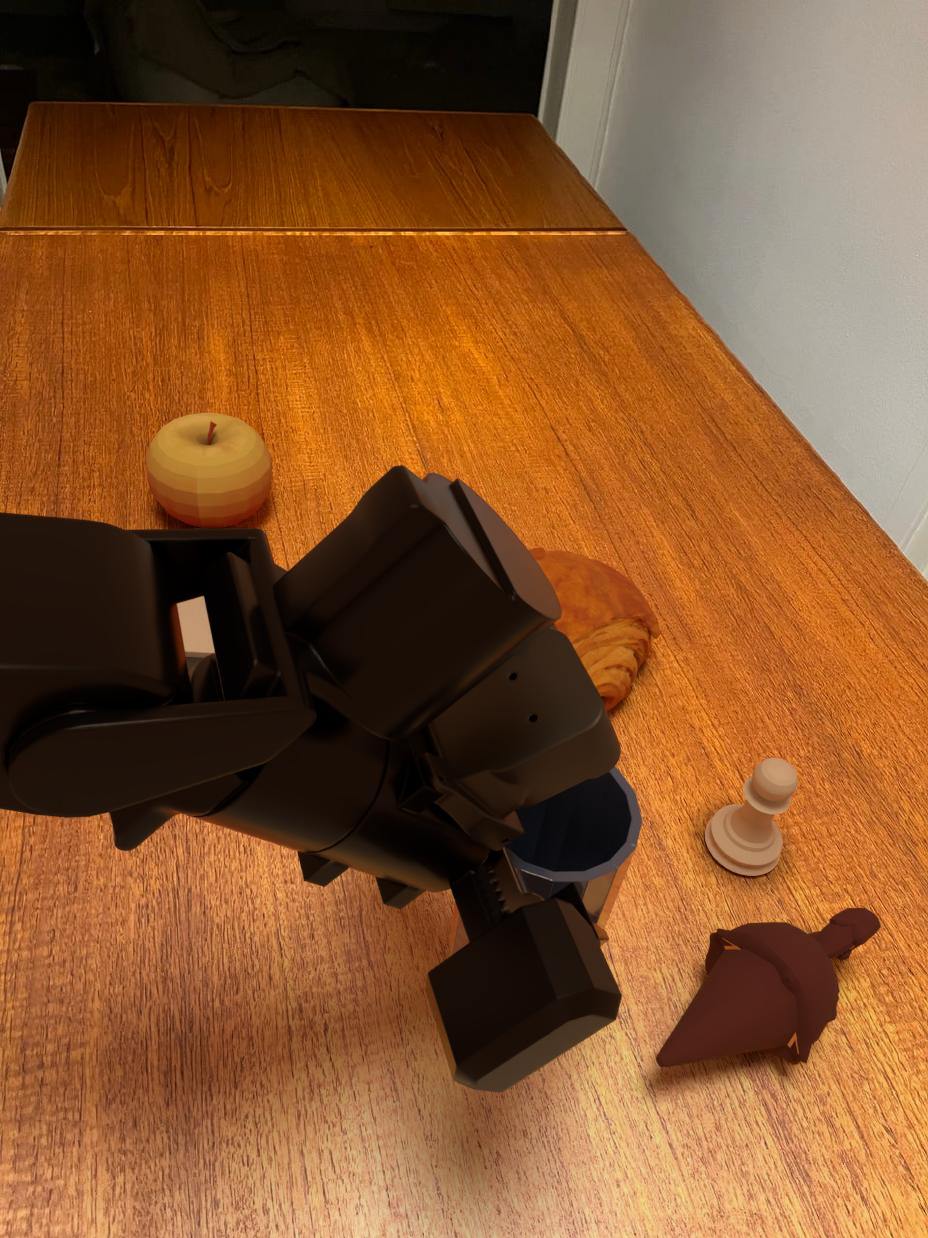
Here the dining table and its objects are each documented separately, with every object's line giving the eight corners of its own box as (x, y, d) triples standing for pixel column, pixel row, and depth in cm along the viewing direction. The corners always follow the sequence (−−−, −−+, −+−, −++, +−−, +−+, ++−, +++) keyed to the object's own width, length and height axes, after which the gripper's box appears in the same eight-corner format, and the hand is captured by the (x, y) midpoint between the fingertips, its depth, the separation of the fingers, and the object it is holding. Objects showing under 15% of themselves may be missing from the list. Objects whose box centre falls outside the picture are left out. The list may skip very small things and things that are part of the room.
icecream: (742, 1127, 42) (939, 972, 50) (647, 971, 45) (847, 847, 53) (670, 1149, 48) (857, 1007, 55) (589, 1009, 51) (777, 891, 58)
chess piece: (777, 887, 59) (822, 811, 53) (700, 866, 59) (737, 788, 54) (780, 825, 62) (823, 747, 57) (706, 805, 63) (742, 725, 57)
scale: (82, 691, 65) (74, 660, 63) (117, 599, 71) (110, 568, 69) (218, 698, 66) (214, 668, 63) (240, 607, 72) (237, 577, 70)
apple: (287, 481, 83) (283, 400, 78) (259, 553, 76) (253, 470, 71) (174, 466, 84) (162, 384, 78) (135, 537, 77) (120, 452, 71)
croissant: (506, 770, 66) (526, 706, 60) (417, 600, 74) (427, 528, 68) (682, 708, 71) (718, 644, 65) (581, 555, 79) (604, 485, 73)
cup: (454, 1019, 45) (482, 882, 37) (445, 887, 50) (468, 740, 42) (598, 1014, 46) (657, 879, 38) (576, 884, 51) (623, 741, 43)
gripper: (625, 875, 25) (833, 967, 36) (418, 458, 37) (619, 620, 48) (322, 1085, 28) (597, 1111, 39) (225, 636, 40) (454, 751, 51)
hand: (566, 870), depth 44 cm, fingers closed on cup, 7 cm apart
